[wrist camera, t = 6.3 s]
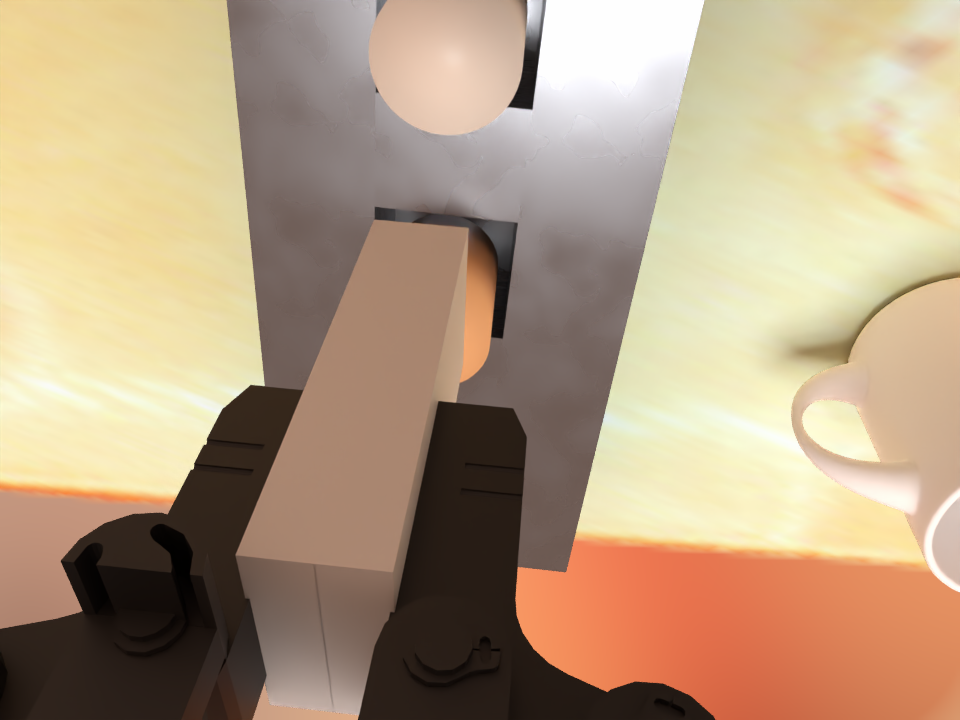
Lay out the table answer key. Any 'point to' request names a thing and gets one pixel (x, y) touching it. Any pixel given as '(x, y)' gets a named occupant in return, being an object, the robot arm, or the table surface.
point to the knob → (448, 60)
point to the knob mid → (474, 291)
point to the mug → (903, 417)
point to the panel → (470, 205)
